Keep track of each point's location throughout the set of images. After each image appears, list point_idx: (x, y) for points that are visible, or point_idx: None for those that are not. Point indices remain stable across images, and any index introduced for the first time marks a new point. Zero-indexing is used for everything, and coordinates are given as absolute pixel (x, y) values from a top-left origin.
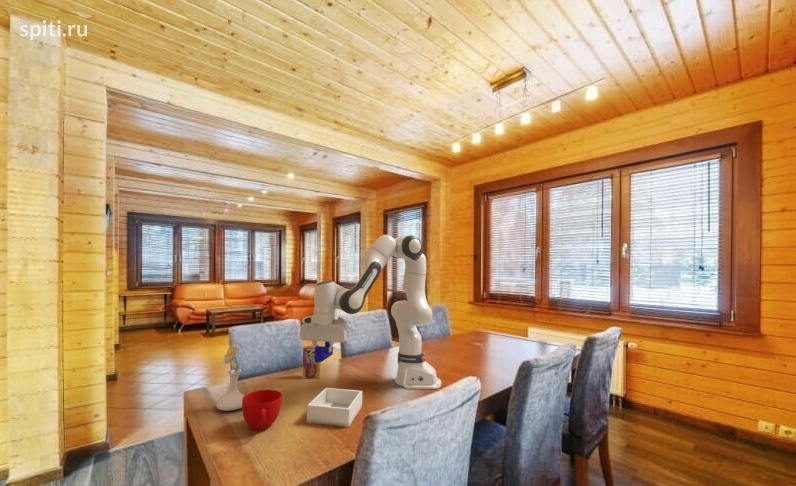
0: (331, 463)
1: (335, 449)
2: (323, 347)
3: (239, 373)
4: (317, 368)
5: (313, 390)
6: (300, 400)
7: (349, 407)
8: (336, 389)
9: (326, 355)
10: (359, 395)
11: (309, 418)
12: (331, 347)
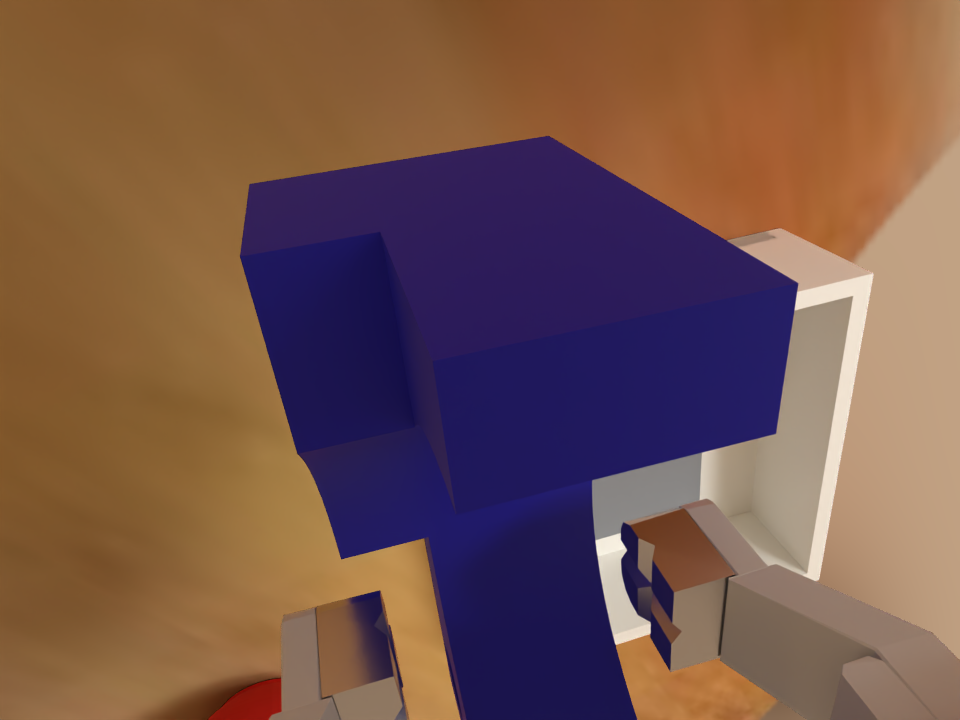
0: (750, 712)
1: None
2: (311, 327)
3: None
4: None
5: (122, 47)
6: (211, 353)
7: (816, 562)
8: None
9: (589, 528)
10: (854, 365)
11: None
12: (775, 578)
